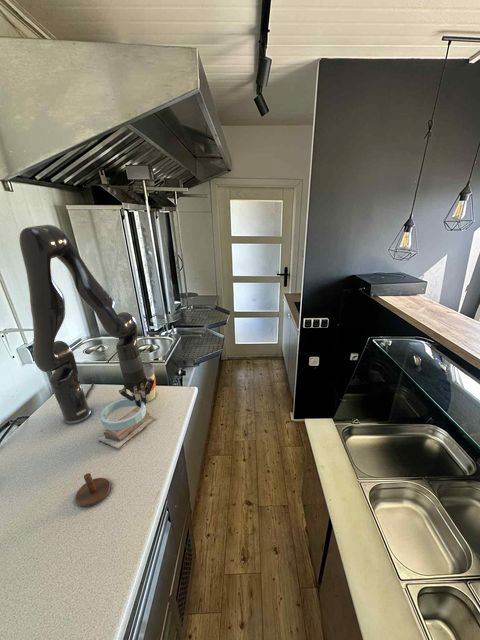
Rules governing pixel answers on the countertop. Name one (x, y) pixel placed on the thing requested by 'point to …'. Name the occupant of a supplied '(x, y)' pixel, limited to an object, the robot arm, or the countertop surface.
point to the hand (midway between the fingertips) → (141, 405)
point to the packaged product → (125, 430)
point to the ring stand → (92, 491)
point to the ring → (123, 423)
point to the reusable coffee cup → (149, 374)
